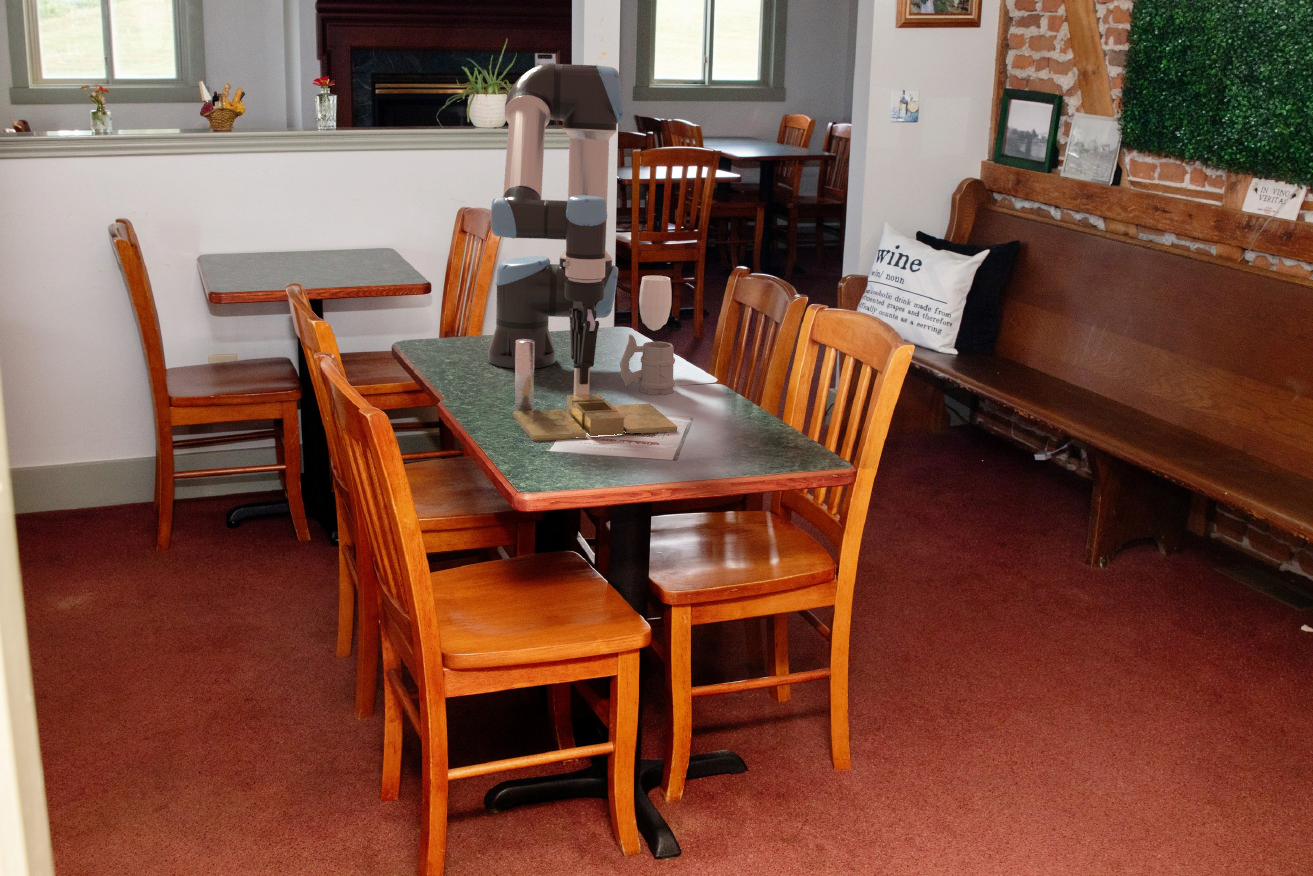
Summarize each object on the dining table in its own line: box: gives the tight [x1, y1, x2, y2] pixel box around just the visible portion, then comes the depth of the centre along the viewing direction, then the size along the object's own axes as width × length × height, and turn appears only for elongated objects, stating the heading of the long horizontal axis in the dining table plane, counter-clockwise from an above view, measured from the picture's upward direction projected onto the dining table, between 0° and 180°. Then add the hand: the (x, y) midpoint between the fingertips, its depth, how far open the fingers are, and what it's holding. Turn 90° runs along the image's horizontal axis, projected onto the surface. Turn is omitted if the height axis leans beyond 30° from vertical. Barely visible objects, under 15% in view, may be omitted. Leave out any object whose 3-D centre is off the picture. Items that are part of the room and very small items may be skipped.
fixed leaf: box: [512, 400, 624, 442], centre depth 232 cm, size 16×17×4 cm
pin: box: [514, 339, 535, 411], centre depth 239 cm, size 4×4×14 cm
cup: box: [638, 275, 672, 331], centre depth 275 cm, size 7×7×21 cm
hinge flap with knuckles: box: [566, 393, 678, 434], centre depth 236 cm, size 16×17×4 cm
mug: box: [619, 334, 676, 396], centre depth 258 cm, size 8×12×12 cm, turn 103°
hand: (581, 398), depth 242 cm, fingers closed
